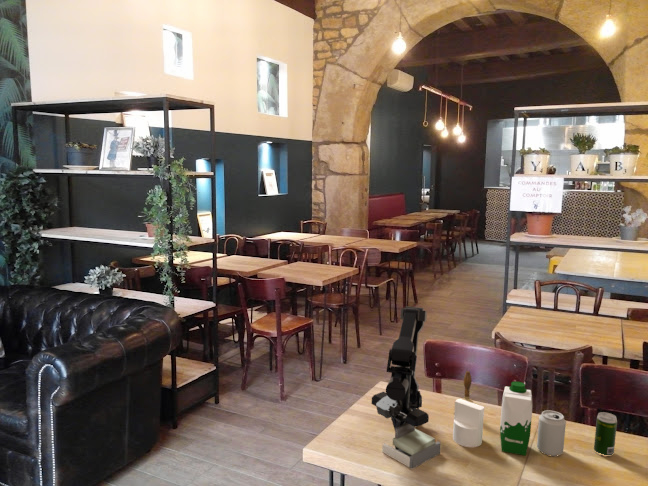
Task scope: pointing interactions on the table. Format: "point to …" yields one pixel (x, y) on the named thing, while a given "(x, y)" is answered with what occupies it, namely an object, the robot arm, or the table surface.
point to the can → (551, 433)
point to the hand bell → (467, 386)
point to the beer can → (605, 433)
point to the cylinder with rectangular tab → (468, 423)
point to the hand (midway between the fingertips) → (397, 434)
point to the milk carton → (516, 418)
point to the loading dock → (413, 459)
